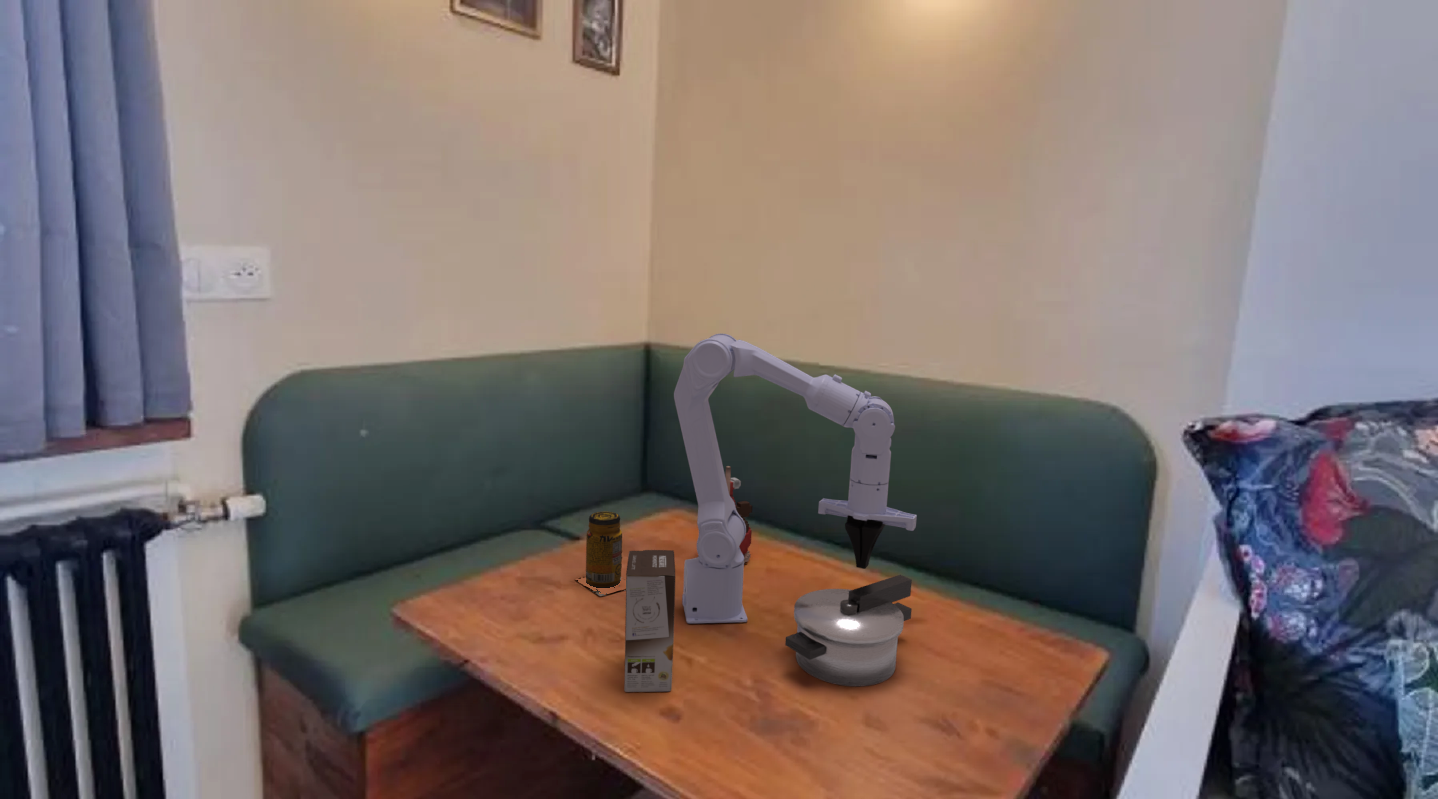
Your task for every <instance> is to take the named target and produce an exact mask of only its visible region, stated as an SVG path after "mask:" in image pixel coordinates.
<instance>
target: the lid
mask: <svg viewBox="0 0 1438 799" xmlns="http://www.w3.org/2000/svg"><path fill="white" fill-rule="evenodd" d="M912 584H913V581H912V579H911V578H909V577H906V576H904V575H902V574H898V575H894V576H891V577H887V578H886V579H883V580H879V581H876V582H873V583H869V584H866V585H864V586H860V587H857V588H853V589H849V588H847V589H846V588H825V589H818V590H814V591H810V592H808V593H805V594H803V595H801V596H800V597H798V599H797V600H796V601H795V603H794V607H793V608H794V609H793V616H794V617H793V618H794V621H795V623H796V624H797V626H798V625H799V626H800V627H801V628H802V629H803V630H805V631H806V632H808V633H809V634H811V635H813V636H816V637H818V638H820V639H823V640H826V641H830V642H834V643H839V644H845V645H856V646H866V645H876V644H881V643H885V642H888V641H891V640H893V639H895V638H896V637H898V638H899V636H900V635H901V634H902V633H903V630H904V623H905V621H904V616H903V613H902V612H901V610H900V609H899V608H898V607H897V606H896V605H894V604H895V603H896V602H897V601H901V600H905V599H907V598H909V597H911V594H912V593H911V592H912ZM894 602H895V603H894Z"/></svg>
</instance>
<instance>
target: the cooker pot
mask: <svg viewBox="0 0 1438 799" xmlns="http://www.w3.org/2000/svg"><path fill="white" fill-rule="evenodd" d="M893 604H894V605H896V606H897V607H898V608H899V609H900V610H901V612H902V613H903V616H904V622H905V621H908V620H911V618H912V610H913V609H912V608H911V607H909V606H907V605H905V604H903V603H900V602H897V601H896V602H895V603H893ZM796 632H797V633H793V634H790V635H787V636H785V644H784V645H785V646H786V647H788V648H789V649H790V650H793V651H794V652H795V659H796V662H797V664H798V666H799V668H801V669H802V670H803V671H805V672H806V673H807V674H808V675H810V676H812V677H813V678H816V679H818V680H820V681H824V682H826V683H830V684H833V685H838V686H845V687H868V686H874V685H878V684H880V683H883V682H885V681H887V680H888V679H890V678H891V677H892V676H893V675H894V673H895V670H896V665H897V664H896V663H897V652H898V639H899V636H898V637H896V638H895V639H893V640H891V641H888V642H885V643H881V644H876V645H866V646H856V645H845V644H839V643H834V642H830V641H826V640H823V639H820V638H818V637H816V636H813V635H811V634H809V633H808V632H806V631H805V630H803V629H802V628H801V627H800V626H799V625H798V624H797V629H796Z"/></svg>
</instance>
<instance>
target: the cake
mask: <svg viewBox="0 0 1438 799" xmlns="http://www.w3.org/2000/svg"><path fill="white" fill-rule="evenodd" d="M731 471H732V467H731V466H729V465H727V466H725V478H726V483H727V487H728V492H729V495H730V497H731V498H732V500H733V501H734V503H735V507H736V510H737V512H738V514H739V515H740V516H741V518H742V519H743V521H744V522H745V525H746V535H745V537H744V539H743V541H742V542H741V544H740V546H739V547H740V550H741V552H742V554H743V556H744V565H745V563H746V562H749V561H750V558H751V555H752V554H751V553H750V552H751V551H750V550H749V548H750V546H751V544H752V529H751V528H752V527H750V524H749V521H748V520H746V518H747V517H748V518H749V517H750V514H751V513H752V514H753V505H752V504H751V503H750V502H749V501H747V500H743V501H736V500H735V497H734V490H736V489H737V490H738V489H740V487H741V483H742V481H741V480H740V479H738V478H737V477H732V475H731V473H732V472H731Z"/></svg>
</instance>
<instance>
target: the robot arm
mask: <svg viewBox="0 0 1438 799" xmlns="http://www.w3.org/2000/svg"><path fill="white" fill-rule="evenodd" d="M683 358H684V359H683V366H682V368H681V372H680V374H679V377H678V380H677V383H676V385H675V388H674V391H673V399H674V405H675V409H676V413H677V417H678V421H679V425H680V429H681V435H682V439H683V443H684V447H685V448H684V449H685V453H686V456H687V461H688V465H689V466H688V467H689V469H690V473H691V474H690V475H691V479H692V483H693V488H694V492H695V495H696V501H697V506H698V508H697V510H698V511H697V522H696V524H697V528H698V529H697V530H698V537H697V541H696V551H697V552H696V553H697V555H698V556H697V557H694V558H689V559H685V560H684V568H683V591H682V592H683V593H682V595H681V596H682V597H681V599H682V601H681V603H682V604H681V605H682V607H683V610H684V616H685V622H686V623H687V624H718V623H719V624H720V623H726V624H727V623H747V622H748V616H747V613H746V611H745V608H744V606H743V593H744V592H743V590H744V588H743V587H744V571H745V570H744V568H745V566H744V565H745V564H744V556H743V554H742V552H741V550H740V547H739V546H740V544H741V542H742V541H743V539H744V537H745V535H746V525H745V522H744V521H743V519H742V518H741V516H740V515H739V514H738V512H737V510H736V507H735V505H736V502H735V503H734V501H733V500H732V498H731V497H730V495H729V492H728V487H727V483H726V478H725V477H726V473H725V471H724V466H723V460H722V456H721V452H720V447H719V442H718V438H717V434H716V429H715V424H714V419H713V415H712V410H711V407H710V402H709V398H710V396H711V395H712V394H713V392H714V391H715V389H716V388H717V387H718V385H719V384H720V381H721V380H723V379H724V378H725V377H727V376H728V375H730V374H731V373H732V372H733V378H739V377H746V376H758V377H760V378H761V379H764V380H766V381H768V382H771V383H773V384H775V385H777V386H779V387H781V388H783V389H786V390H788V391H790V392H793V394H794V393H795V394H797V395H800V396H802V397H803V398H804V401H805V403H806V406H807V409H808V410H810V411H812V412H814V413H816V414H818V415H819V416H822V417H824V418H825V419H826V418H827V419H828V420H830V421H832V422H833V423H836V424H837V425H840V426H842V427H844V428H851V429H853V431H854V445H853V447H852V448H851V449H852V450H851V456H850V473H849V486H848V497H847V498H848V500H839V499H831V498H824V497H823V498H822V499H821V500H819V501H818V509H817V510H818V512H817V514H819V515H826V514H827V515H831V516H832V515H833V516H837V517H844V518H846V522H845V523H844V529H845V531H846V532H847V535H848V537H849V540H850V542H851V545H852V549H853V553H854V557H855V565H856V568H859V569H865V570H866V569H867V567H868V566H869V564H870V560H871V559H870V558H871V557H872V553H873V550H874V547H875V545H876V543H877V540H878V538H880V536H881V533H882V532H883V530H884V528H885V526H892V527H897V528H898V527H899V528H903V529H905V530H907V531H909V532H910V531H911V532H913V531H914V530H915V529H916V528H917V516H918V515H917V514H914V513H908V512H904V511H902V510H898V509H896V508H893V507H889V506H887V505H888V494H889V481H890V472H891V458H892V451H891V449H890V448H891V447H892V438H891V437H892V436H893V434H894V432H895V429H896V425H895V418H894V412H893V410H892V408H891V406H890V405H889V404H888V403H887V401H885V400H883V399H882V398H881V397H880V396H872V393H871V392H870V391H867V390H864V391H863V392H862V391H860V390H858V389H856V388H854V387H852V386H850V385H848V384H846V383H845V382H843V381H842V380H843V377H842V376H840V375H837V374H834V375H833V376H831V375H828V374H823V375H819V376H816V377H813V376H811V374H808V373H806V372H804V371H803V370H800V369H799V368H797V367H795V366H793V365H791V364H789V363H788V362H786V361H784V360H782V359H780V358H778V357H777V356H776V355H774V354H771V353H769V352H768V351H766V350H765V349H762V348H760V347H759V346H756V345H754V344H752V343H750V342H749V341H745V340H743V339H738V340H737V339H736V338H735V337H733V336H732V335H730V334H727V333H715V334H713V335H711V336H710V337H708V338H706V339H703V340H700V341H699V342H696V344H694V346H693V347H692V348H691V350H690V351H689V352H688V353H687V355H686V356H685V357H683Z"/></svg>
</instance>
